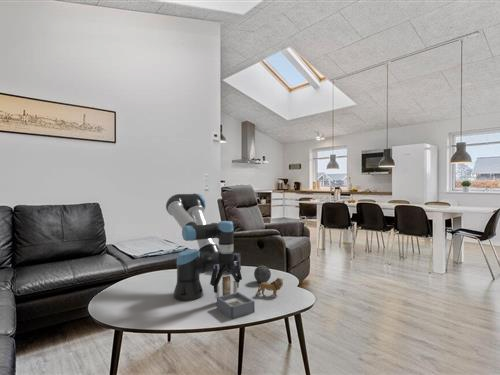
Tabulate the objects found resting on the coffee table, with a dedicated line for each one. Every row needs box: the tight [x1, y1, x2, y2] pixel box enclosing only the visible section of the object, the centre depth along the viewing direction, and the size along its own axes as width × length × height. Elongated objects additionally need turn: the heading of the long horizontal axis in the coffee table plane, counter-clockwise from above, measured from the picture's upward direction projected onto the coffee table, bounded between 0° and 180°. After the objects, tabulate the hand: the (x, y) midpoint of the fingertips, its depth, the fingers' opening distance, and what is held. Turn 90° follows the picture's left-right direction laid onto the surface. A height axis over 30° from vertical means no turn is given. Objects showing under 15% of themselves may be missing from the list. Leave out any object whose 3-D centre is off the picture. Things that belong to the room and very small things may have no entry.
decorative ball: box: [253, 265, 272, 284], centre depth 176 cm, size 10×10×10 cm
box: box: [216, 291, 256, 320], centre depth 137 cm, size 14×12×5 cm
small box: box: [224, 252, 242, 273], centre depth 200 cm, size 13×7×12 cm, turn 74°
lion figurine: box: [255, 277, 284, 297], centre depth 155 cm, size 15×5×9 cm, turn 94°
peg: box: [221, 275, 232, 296], centre depth 148 cm, size 4×4×12 cm
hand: (226, 296), depth 148 cm, fingers open, 10 cm apart
